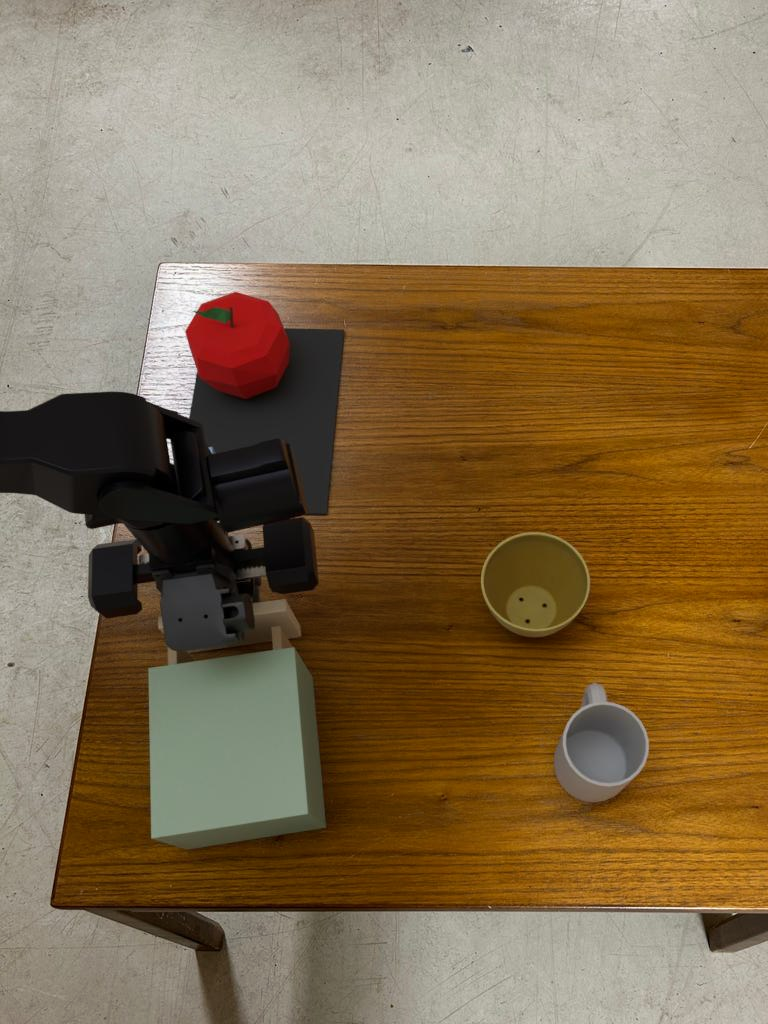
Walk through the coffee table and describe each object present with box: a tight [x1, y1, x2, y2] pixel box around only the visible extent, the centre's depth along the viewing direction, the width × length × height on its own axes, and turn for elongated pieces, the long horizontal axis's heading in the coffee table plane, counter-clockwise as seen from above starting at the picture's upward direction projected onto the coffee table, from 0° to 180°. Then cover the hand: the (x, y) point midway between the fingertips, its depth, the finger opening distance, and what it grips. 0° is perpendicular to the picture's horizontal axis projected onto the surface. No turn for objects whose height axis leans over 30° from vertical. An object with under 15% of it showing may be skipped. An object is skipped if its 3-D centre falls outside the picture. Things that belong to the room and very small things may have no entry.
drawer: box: [157, 577, 302, 665], centre depth 74 cm, size 18×11×7 cm, turn 9°
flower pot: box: [480, 531, 591, 638], centre depth 77 cm, size 10×10×7 cm
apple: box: [185, 291, 289, 399], centre depth 85 cm, size 11×11×10 cm
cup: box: [553, 682, 650, 803], centre depth 72 cm, size 7×10×9 cm
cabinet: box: [147, 646, 327, 851], centre depth 71 cm, size 15×13×9 cm
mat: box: [188, 327, 345, 516], centre depth 88 cm, size 16×24×1 cm, turn 179°
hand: (233, 604), depth 77 cm, fingers closed, pressing on drawer
